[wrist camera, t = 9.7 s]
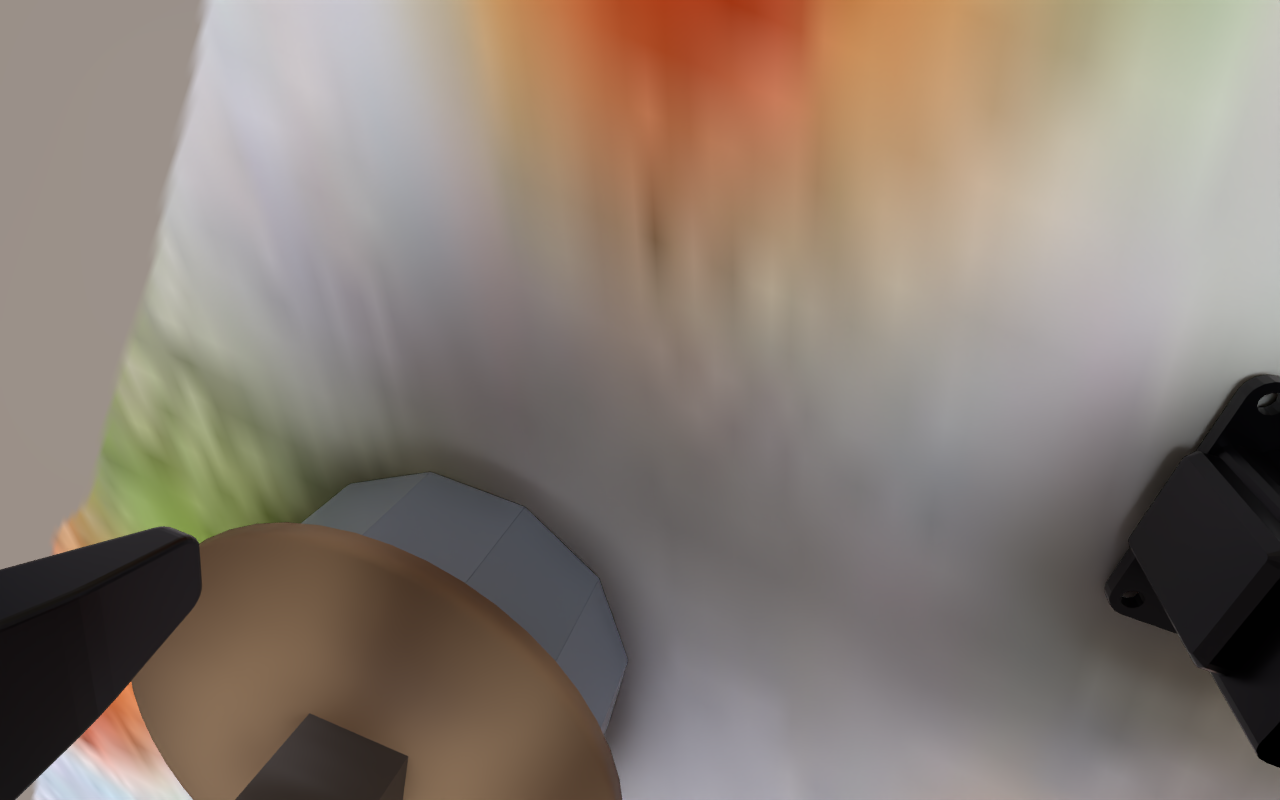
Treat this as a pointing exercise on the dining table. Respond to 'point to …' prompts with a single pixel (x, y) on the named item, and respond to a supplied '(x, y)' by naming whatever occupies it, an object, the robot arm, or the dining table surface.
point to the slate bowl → (496, 568)
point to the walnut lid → (360, 682)
